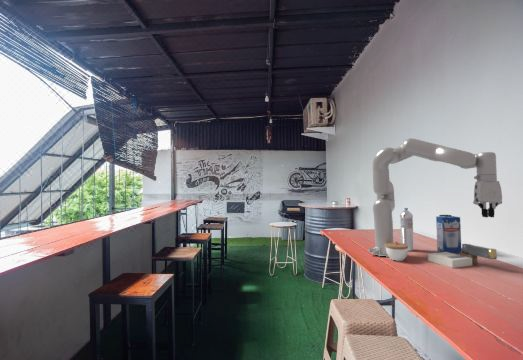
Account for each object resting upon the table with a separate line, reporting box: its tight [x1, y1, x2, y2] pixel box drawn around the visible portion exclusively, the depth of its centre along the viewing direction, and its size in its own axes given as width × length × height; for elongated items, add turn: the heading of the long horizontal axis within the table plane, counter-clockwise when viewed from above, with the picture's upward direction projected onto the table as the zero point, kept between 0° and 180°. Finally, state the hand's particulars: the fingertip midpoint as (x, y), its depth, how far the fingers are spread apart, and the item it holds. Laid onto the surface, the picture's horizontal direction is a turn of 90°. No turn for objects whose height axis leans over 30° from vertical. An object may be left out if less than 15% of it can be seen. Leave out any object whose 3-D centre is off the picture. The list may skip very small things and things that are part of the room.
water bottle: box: [399, 207, 415, 252], centre depth 173 cm, size 7×7×25 cm
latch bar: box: [461, 243, 498, 260], centre depth 137 cm, size 16×4×4 cm, turn 15°
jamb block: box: [458, 251, 478, 266], centre depth 143 cm, size 4×6×5 cm, turn 15°
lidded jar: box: [385, 241, 409, 262], centre depth 152 cm, size 11×11×9 cm
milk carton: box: [435, 215, 462, 254], centre depth 166 cm, size 10×6×20 cm, turn 88°
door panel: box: [427, 252, 473, 269], centre depth 144 cm, size 12×14×4 cm
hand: (488, 216), depth 138 cm, fingers closed
